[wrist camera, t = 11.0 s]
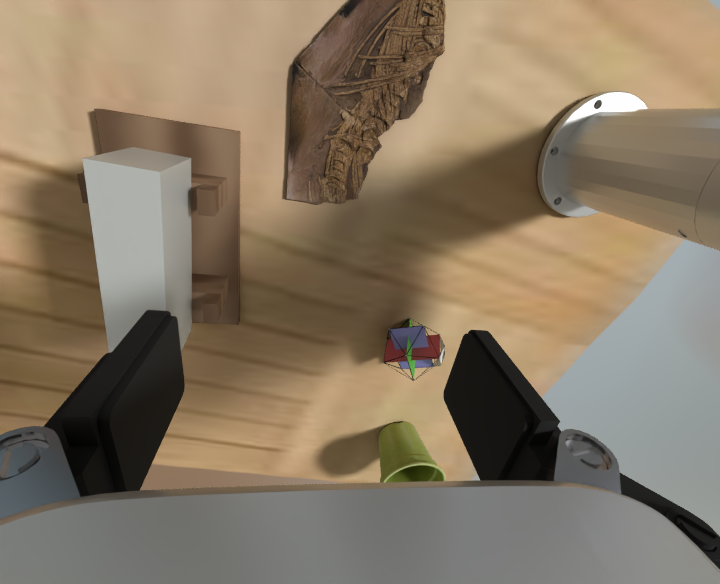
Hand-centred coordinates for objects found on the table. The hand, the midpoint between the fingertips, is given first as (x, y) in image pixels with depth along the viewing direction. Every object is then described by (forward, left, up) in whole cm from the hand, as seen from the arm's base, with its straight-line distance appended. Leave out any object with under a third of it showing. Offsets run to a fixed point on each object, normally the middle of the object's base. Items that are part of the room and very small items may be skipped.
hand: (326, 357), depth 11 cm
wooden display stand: (+12, +5, -26) cm, 29 cm away
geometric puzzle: (-14, +16, -26) cm, 34 cm away
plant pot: (-17, +35, -26) cm, 47 cm away
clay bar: (+12, +5, -21) cm, 25 cm away
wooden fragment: (-4, -11, -27) cm, 29 cm away
